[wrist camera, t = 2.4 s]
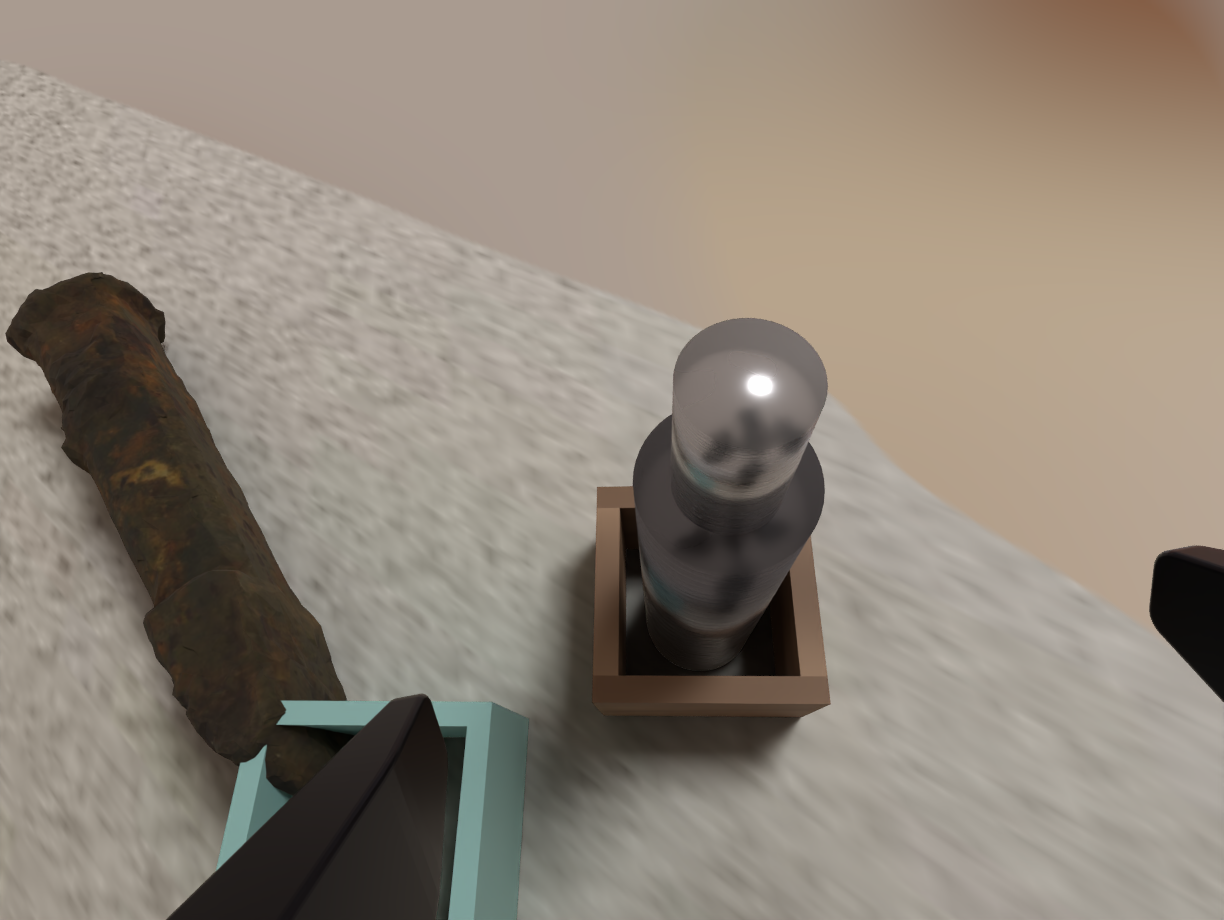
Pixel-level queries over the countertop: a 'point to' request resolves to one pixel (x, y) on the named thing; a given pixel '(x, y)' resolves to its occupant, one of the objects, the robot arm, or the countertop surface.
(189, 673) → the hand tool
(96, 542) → the countertop surface
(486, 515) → the countertop surface
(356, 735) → the robot arm
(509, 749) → the hollow teal block
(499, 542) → the countertop surface
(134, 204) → the countertop surface
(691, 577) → the stepped grey cylinder
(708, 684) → the socket block
